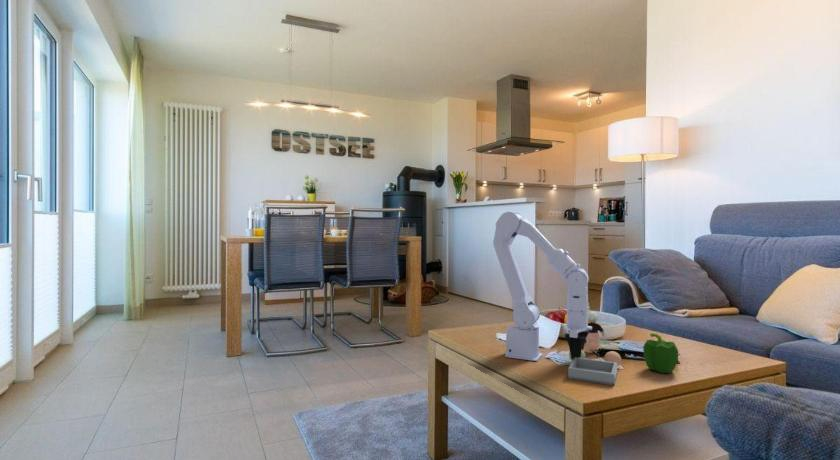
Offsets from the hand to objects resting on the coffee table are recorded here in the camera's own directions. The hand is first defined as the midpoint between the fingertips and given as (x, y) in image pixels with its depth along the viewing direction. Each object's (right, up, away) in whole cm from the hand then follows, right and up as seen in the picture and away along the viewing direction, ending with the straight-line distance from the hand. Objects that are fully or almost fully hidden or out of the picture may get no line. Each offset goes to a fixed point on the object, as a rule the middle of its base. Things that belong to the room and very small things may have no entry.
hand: (576, 357), depth 131 cm
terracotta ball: (+9, -2, -4) cm, 10 cm away
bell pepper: (+21, -2, -7) cm, 22 cm away
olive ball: (0, -2, 0) cm, 2 cm away
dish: (0, -2, -11) cm, 12 cm away
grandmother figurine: (+9, -2, +12) cm, 15 cm away
